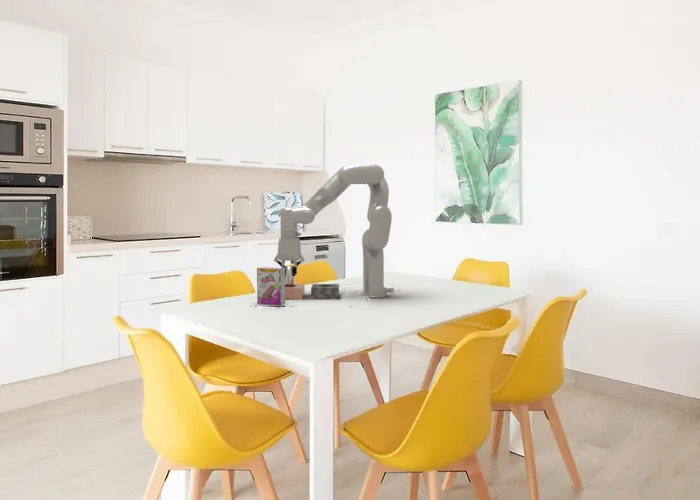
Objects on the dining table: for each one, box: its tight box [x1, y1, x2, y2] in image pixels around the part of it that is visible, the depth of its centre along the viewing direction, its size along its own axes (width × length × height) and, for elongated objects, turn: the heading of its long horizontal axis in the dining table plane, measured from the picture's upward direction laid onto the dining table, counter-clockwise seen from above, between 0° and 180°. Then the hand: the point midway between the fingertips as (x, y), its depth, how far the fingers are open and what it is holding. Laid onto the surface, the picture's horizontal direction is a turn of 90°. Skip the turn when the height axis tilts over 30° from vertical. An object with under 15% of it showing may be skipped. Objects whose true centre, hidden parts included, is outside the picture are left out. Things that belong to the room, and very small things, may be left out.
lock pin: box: [285, 265, 295, 287], centre depth 249 cm, size 4×4×11 cm
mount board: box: [285, 283, 342, 301], centre depth 250 cm, size 30×14×6 cm, turn 90°
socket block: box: [285, 283, 305, 299], centre depth 250 cm, size 12×12×5 cm
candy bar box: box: [256, 266, 286, 308], centre depth 233 cm, size 11×5×16 cm, turn 71°
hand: (289, 275), depth 249 cm, fingers closed on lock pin, 4 cm apart
